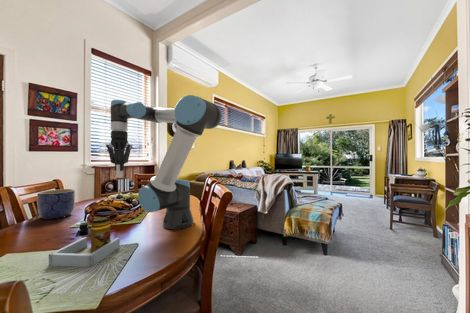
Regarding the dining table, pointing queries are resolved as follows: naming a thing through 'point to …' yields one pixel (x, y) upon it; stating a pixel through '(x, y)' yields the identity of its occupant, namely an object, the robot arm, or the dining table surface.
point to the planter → (56, 203)
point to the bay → (68, 257)
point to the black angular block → (83, 230)
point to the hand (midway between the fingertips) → (119, 177)
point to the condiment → (99, 234)
